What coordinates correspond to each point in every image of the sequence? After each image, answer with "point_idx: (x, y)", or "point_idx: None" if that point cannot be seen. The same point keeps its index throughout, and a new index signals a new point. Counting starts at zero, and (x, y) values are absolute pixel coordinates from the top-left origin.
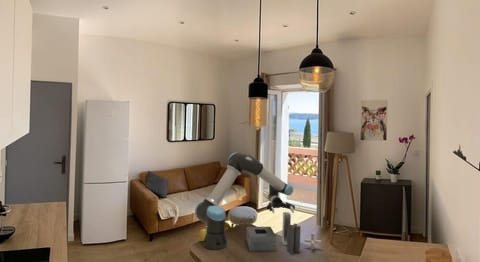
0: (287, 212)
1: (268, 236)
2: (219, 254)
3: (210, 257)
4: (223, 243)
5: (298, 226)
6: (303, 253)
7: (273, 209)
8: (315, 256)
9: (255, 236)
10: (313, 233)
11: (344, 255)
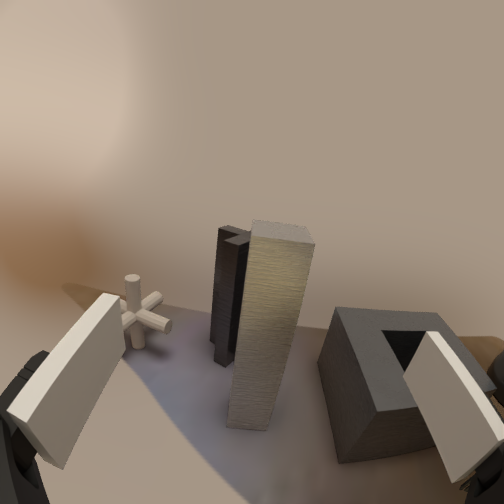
0: (270, 236)
1: (369, 309)
2: (475, 346)
3: (482, 336)
4: (496, 359)
5: (231, 229)
6: (200, 330)
7: (436, 333)
8: (168, 309)
9: (420, 314)
10: (130, 276)
11: (74, 291)
